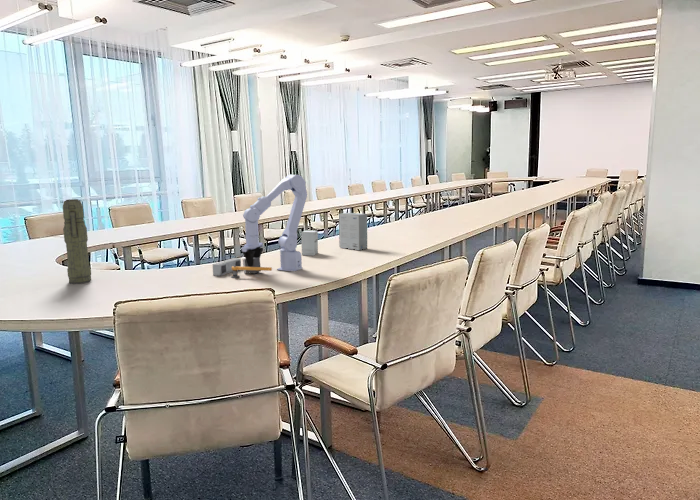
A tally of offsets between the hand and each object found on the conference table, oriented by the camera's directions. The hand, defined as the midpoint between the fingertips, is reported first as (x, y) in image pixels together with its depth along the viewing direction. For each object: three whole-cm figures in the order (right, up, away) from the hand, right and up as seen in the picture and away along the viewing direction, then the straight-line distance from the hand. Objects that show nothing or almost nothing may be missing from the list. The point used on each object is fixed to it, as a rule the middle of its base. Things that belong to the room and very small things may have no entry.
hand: (253, 264), depth 239 cm
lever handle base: (-7, -5, -7) cm, 11 cm away
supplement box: (+22, +4, +45) cm, 51 cm away
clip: (+1, -2, -9) cm, 9 cm away
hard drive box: (+46, +7, +62) cm, 78 cm away
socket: (-13, -3, +3) cm, 13 cm away
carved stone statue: (-72, -7, -13) cm, 73 cm away
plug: (+1, -3, 0) cm, 3 cm away
